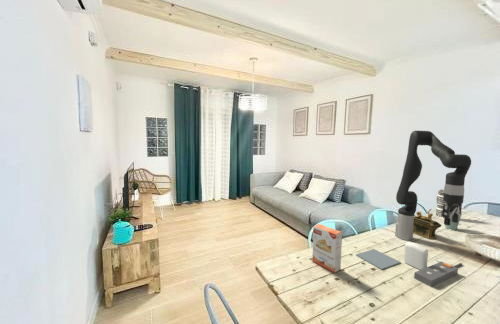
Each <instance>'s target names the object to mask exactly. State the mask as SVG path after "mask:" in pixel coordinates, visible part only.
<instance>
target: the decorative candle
mask: <svg viewBox="0 0 500 324" xmlns="http://www.w3.org/2000/svg"><path fill="white" fill-rule="evenodd" d="M443 197H444V189H439V190H438V191H437V196H436V205H437V206H436V208H435V217H436V216H438V217H442V211H443V205H447V202H445V201H444V200H443ZM443 218H444V217H443Z"/></svg>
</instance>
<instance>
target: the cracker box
mask: <svg viewBox="0 0 500 324" xmlns="http://www.w3.org/2000/svg"><path fill="white" fill-rule="evenodd" d="M312 229H313V231H312V234H313V235H312V262H313V263H315V264H317V265H319V266H320V267H322V268H324V269H326V270H328V271H331V272H332V273H333V274H336V273H337V272H339V271H340V270H341V267H342V265H341V264H342V244H343V243H342V240H343V232H342V231H340V230H337V229H334V228H332V227H330V226H329V227H328V226H326V225H323V224H320V223H318V224H316V225H313V228H312Z"/></svg>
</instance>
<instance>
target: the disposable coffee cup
mask: <svg viewBox="0 0 500 324" xmlns="http://www.w3.org/2000/svg"><path fill="white" fill-rule="evenodd" d="M444 214H445V213H444ZM449 215H450V214H449ZM462 215H463V213H462V212H461V214H460V215H459V217H458V223H455V222H452V216H451V218H450V219H451V220H450V225H449V226H448V225H445V224H444V227H445V229H447V230H449V229H451V230H450V231H457V229H458V226H459V224H460V220H461V217H462Z"/></svg>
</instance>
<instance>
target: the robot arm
mask: <svg viewBox="0 0 500 324" xmlns="http://www.w3.org/2000/svg"><path fill="white" fill-rule="evenodd" d="M408 139H409V140H408V148H407V155H406V159H405V163H404V166H403V170H402V171H403V172H402V177H401V180H400V183H399V186H398V189H397V192H396V196H395V199H396V202H397V204H399V205H401V206H402V205H403V206H402V207H399V208H398V210H397V211H398V212H397V222H396V223H395V235H394V236H395V237H397V238H398V239H401V240H403V241H412V240H413V239H414V233H413V228H414V217H415V216H414V215H415V214H416V213H417V206H418V205H417V204H418V195H417V193H416V192H414V191H413V190H412V191H411V190H410V188H411V186H412V185H413V184H414V182H416V181H417V180H418V179H419V177H420V176H421V172H422V169H423V164H422V161H421V159H420V157H419V155H418V146H429V147H431V148H430V150H431V153H432V154H433V155H434V156H435V157H436V158H438V159H439V161H441V164H442V165H443V166H444V167H445V168H448V169H455V170H453V171H451V172H448V173H446V175H445V184H444V187H443V190H444V197H443V200H444V201H445V202H447V205H443V211H442V217H444V219H443V225H444V226H445V225H448V226H449V225H450V220H451V219H450V218H451V216H452V222H455V223H458V217H459V215H460V214H461V213H462V205H463V203H464V200H465V199H464V198H465V181H466V180H465V178H466V176H467V173H468V172H469V169H470V168H471V165H472V159H471V157H470V156H469V155H468V154H458V153H456V152H455V150H453V149H452V148H451V147H449V146H447V145H446V144H444V143H443V142H442V141H441V140H440V139H439V138H438V137H437V136H436V135H435V134H434V133H433V132H432V131H430V130H413V131H412V132H411V133H410V136H409V138H408ZM444 213H445V214H444ZM449 214H450V215H449Z"/></svg>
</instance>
